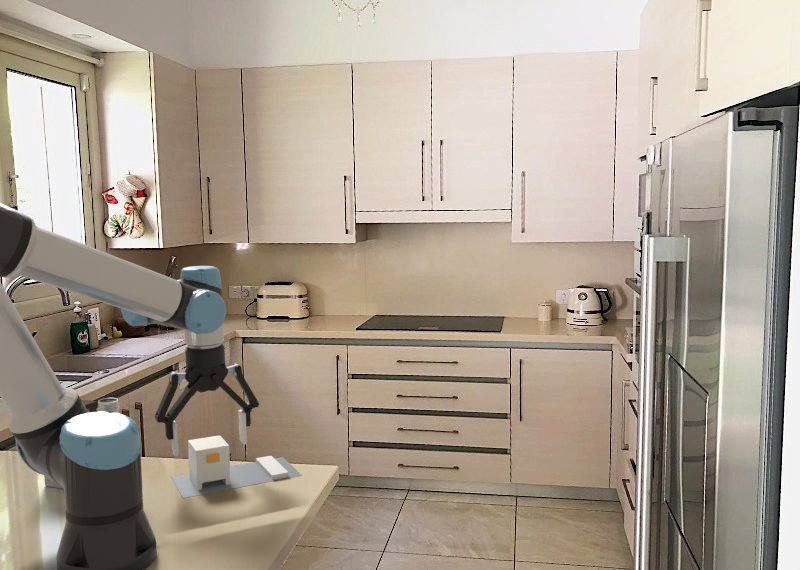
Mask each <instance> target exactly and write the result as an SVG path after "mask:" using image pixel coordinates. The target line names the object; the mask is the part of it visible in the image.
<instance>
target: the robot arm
mask: <svg viewBox="0 0 800 570" xmlns="http://www.w3.org/2000/svg"><path fill="white" fill-rule="evenodd" d="M14 275H18V276H21V277H24V278H26V279H30V280H32V281H36V282H39V283H41V284H45V285H49V286H51V287H55V288H58V289H61V290H64V291H66V292H70V293H73V294H75V295H79V296H82V297H85V298H87V299H91V300H94V301H97V302H101V303H104V304H106V305H109V306H112V307H115V308H119V309H120V311H121V315H122V317H123V319H124V321H125V322H126V323H127V324H128V325H130V326H132V327H138V326H145V327H147V326H148V325H153V324H154V325H155V324H157V325H161V326H166V327H170V328H174V329H179V330H183V331H184V335H183V337H184V344H185V345H186V347H185V349H184V351H185V352H184V353H185V356H184V357H185V369H184V372H176V371H173V370H172V371H170V372H169V377H168V379H169V380H168V381H169V382H168V384H167V387H166V389H165V392H164V393H163V396H162V397H161V400H160V403H159V405H158V408H157V409H156V412H155V414H154V419H155V420H156V422H157V423H159V424H161V423H163V424H164V428H165V429H164V430H165V437H166V439H167V440H168V441H170V440H171V452H172V454H173V456H174V457H175V458H177V457H179V456H180V453H179V451H180V450H179V436H178V435H179V433H178V423H177V422H176V421H175V420H176V419H177V418H178V416H179V414H180V413H181V412H182V411H183V409H184V408H185V406H187V404H188V403H189V401H190V399H191V398H192V397H193V396H195V394H197V392H199V393H201V394H202V393H205V392H208V391H209V392H210V391H211V392H214V391H217V389H219V388H220V389H222V390H223V392H225V394H227V395H228V396H229V397H230V398H231V399H232V400H233V401H234V402H235V403H237V405H238V406H240V408H241V409H238V410H237V413H238V432H239V435H238V437H239V441H240V442H241V444H243V445H247V444H248V437H247V435H248V434H247V427H250V426H251V424H252V423H251V420H252V419H251V412H252V410H253V409H254V408H258V407H259V406H260V403H259V401H258V399H257V397H256V396H255V394H254V392H253V390H252V388H251V387H250V386H249V384H248V382H247V380H246V379H245V377H244V375H243V369H242V366H241V365H240V364H238V363H237V362H234V363H233V364H232V365H230V366H227V365H226V353H225V351H226V350H225V349H226V348H225V345H224V342H225V334H224V333H225V332H224V322H225V319H226V315H227V306H226V302H225V300H224V298H223V286H222V284H223V283H222V278H221V277H222V276H221V271H220V269H219V268H218V267H216V266H215V265H214V266H213V265H194V266H192V265H191V266H185V267H183V268H182V269H181V270H180V276H179V279H178V278H177V279H175V278H172V277H170V276H168V275H164V274H162V273H160V272H157V271H154V270H152V269H149V268H146V267H143V266H141V265H139V264H137V263H134V262H131V261H128V260H125V259H123V258H121V257H118V256H115V255H113V254H110V253H108V252H106V251H103V250H101V249H97V248H94V247H92V246H89V245H87V244H85V243H83V242H79V241H76V240H73V239H71V238H68V237H66V236H64V235H61V234H58V233H55V232H54V231H50V230H48V229H46V228H43V227H40V226H37V225H36V223H35V221H34V218H33V217H32V216H31V215H29V214H26V213H24V212H22V211H18V210H17V209H14V208H13V207H10V206H8V205H5V204H3V203H1V202H0V277H1V278H5V279H6V278H9V277H11V276H14ZM228 374H230V375H231V376H232V377H234V378H235V380H236V381H237V383H238V385H239V387H240V388H241V390H242V392H243V393H244V395H245V397H246V398H247V400H248V402H246V401H245V400H243V398H242V397H241V396H240V395H238V394H237V393H236V392H235V391H234V390H233V389H232V388H231V387H230V386H229V385H228V384H227V383H226V382H225V381H224V380H225V379H226V377H227V376H228ZM184 379H185V380H186V382H187V385H186V386H185V387H184V390H183V391H182V393H181V394H180V395H179V397H178V398H177V400H176V401H175V402H174V404H173V405H172V406H171V403H172V401H173V398H174V396H175V394H176V392H177V389H178V387H179V385H181V384H182V381H183V380H184ZM0 398H1V399H2V400H3V402H4V404H5V406H6V407H7V409H8V410H9V412H10V413H11V418H10V419H9V422H8V430H9V431H10V433H11V434H12V436H13V437H14V439H15V447H16V451H17V453H18V455H19V457H20V458H21V460H22V461H23V463H24V464H25V465H26V466H27V467H28V468H29V469H31V470H32V471H33V472H36V473H38V474H39V475H42V476H43V477H44V476H46V477H48V478H49V479H51V480H53V481H54V482H56V483H58V484H59V485H61V486H62V487H63V488H64V489H63V493H64V494H63V496H64V509H65V510H64V511H65V524H64V528H63V531H62V534H61V539H60V542H59V544H58V548H57V552H56V557H55V558H56V559H55V561H56V570H144V569H146V568H147V567H149V566H150V565H151V564H152V563H153V562H154V561H155V559H156V557H157V552H158V550H157V539H156V536H155V534H154V531H153V529H152V527H151V525H150V522H149V519H148V516H147V515H146V512H145V509H144V499H143V497H144V495H143V473H142V471H143V469H142V439H141V436H140V429H139V427H138V424H137V422H136V421H135V420H134V419H133V418H131V417H129V416H128V415H125V414H123V413H120V412H119V413H109V412H99V411H97V412H90V413H89V412H88V410H87V409H86V407H85V405H84V404H83V402H82V400H83V399H81V397H80V395H79V394H78V392H77V390H75V389H74V388H70V387H64V386H62V384H61V382H60V381H59V379H58V377H57V376H56V373H55V372H54V370H53V368H52V367H51V365H50V363H49V362H48V361H47V359H46V357H45V355H44V354H43V352H42V350H41V348H40V346H39V345H38V343H37V342H36V340H35V339H34V336H33V335H32V334H31V332H30V330H29V328H28V327H27V325H26V323H25V321H24V320H23V318H22V317H21V315H20V313H19V311H18V310H17V308H16V306H15V305H14V302H13V301H12V300H11V298H10V296H9V295H8V293H7V291H6V290H5V288H4V286H3V285H2V283H1V282H0ZM170 406H171V408H170ZM169 408H170V409H169Z"/></svg>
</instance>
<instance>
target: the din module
mask: <svg viewBox="0 0 800 570" xmlns="http://www.w3.org/2000/svg"><path fill="white" fill-rule="evenodd" d="M187 444H188V445H187V446H188V449H187V450H188V470H189V471H188V472H189V473H188V474H189V477H190V480H191V481H192V483H193V484H194V486H195V487H196V489H197V490H201V489H202V483H205V482H210V481H216V480H221V479H222V480H223V482H224V483H225V484H226V485H228V484H230V466H231V463H230V459H231V458H230V445H229V444H228V443H227V442H226V440H225V439H224V438H223V437H222V436H221V435H213V436H206V437H200V438H194V439H188V440H187Z"/></svg>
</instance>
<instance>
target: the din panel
mask: <svg viewBox="0 0 800 570" xmlns="http://www.w3.org/2000/svg"><path fill="white" fill-rule="evenodd" d="M302 476H303V474H302V473H300V472H299V471H298V470H297V469H296V468H295V467H294V466H293V465H292V464H291V463H290V462H289V461H288V460H287V459H286V458H285V457H284V456H282V457H274V456H272V455H266V456H261V457H255V461H254V462H248V463H243V464H236V465H230V484H228V485H226V484H225V483H224V482H223V480H222V479H221V480H216V481H210V482H205V483H202V489H201V490H197V489H196V487H195V486H194V484H193V483H192V481H191V480H190V477H189V473H186V474H181V475H174V476H171V477H170V478H171V480H172V482H173V484H174V486H175V487H176V489H177V490H178V492H179V493H180V495H181V497H182V498H183V499H188V498H192V497H198V496H202V495H208V494H213V493H218V492H222V491H223V492H224V491H229V490H234V489H239V488H245V487H249V486H250V487H251V486H254V485H255V486H256V485H259V484H265V483H270V482H276V481H281V480H285V479H291V478H297V477H302Z"/></svg>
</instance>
